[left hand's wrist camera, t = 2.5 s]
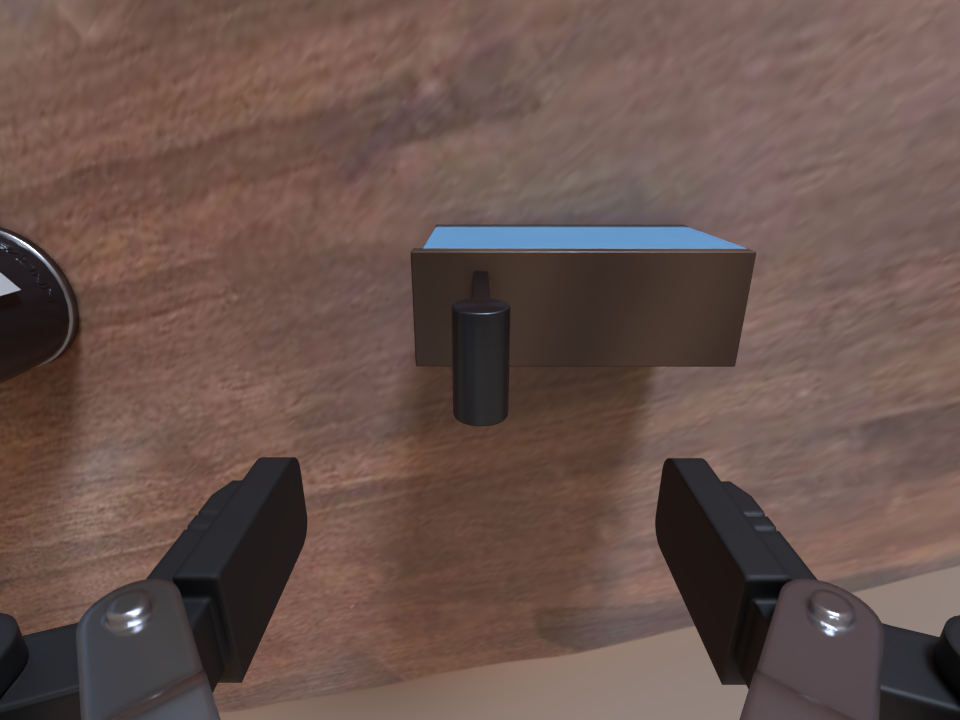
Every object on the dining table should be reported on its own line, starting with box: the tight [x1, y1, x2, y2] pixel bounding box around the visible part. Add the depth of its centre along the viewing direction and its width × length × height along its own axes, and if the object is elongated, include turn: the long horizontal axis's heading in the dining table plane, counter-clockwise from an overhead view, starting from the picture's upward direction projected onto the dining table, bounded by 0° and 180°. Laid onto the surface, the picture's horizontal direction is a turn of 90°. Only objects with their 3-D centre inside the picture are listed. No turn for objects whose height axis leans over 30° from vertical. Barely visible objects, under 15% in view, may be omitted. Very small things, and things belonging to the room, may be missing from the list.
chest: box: [424, 225, 747, 249], centre depth 30 cm, size 15×6×9 cm, turn 90°
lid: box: [411, 248, 756, 426], centre depth 22 cm, size 16×6×8 cm, turn 90°
